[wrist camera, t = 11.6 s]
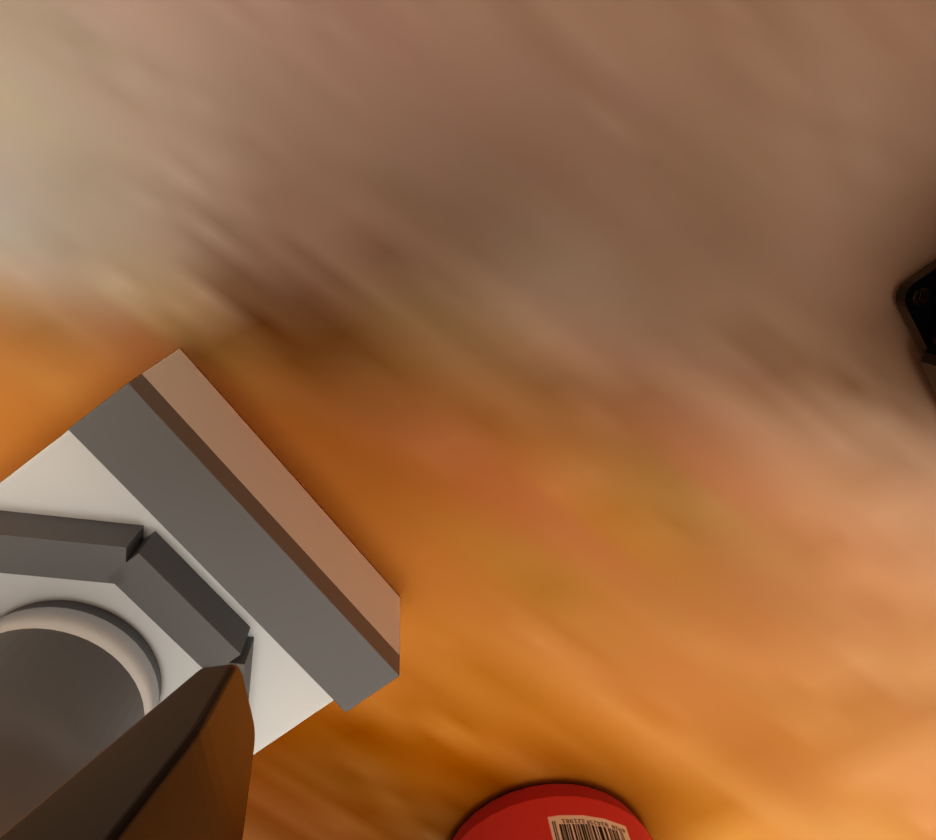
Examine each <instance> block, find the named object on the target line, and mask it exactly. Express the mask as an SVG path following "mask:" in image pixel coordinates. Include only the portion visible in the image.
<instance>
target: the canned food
mask: <svg viewBox="0 0 936 840" xmlns="http://www.w3.org/2000/svg"><path fill="white" fill-rule="evenodd" d="M452 840H652V838H651V837H650V835H649V833H648V832H647V830H646V828H645V827H644V826H643V825H642V824H641V822H640V821H639V820H638V819H637V818H636V816H635V815H634V814H633V813H632V812H631V811H630V810H629V809H628V808H627V807H626V806H625V805H624V804H623V803H622V802H620V801H619V800H617V799H615V798H614V797H612V796H610V795H609V794H607V793H605V792H602V791H599V790H596V789H593V788H591V787H586V786H580V785H574V784H544V785H537V786H530V787H527V788H523V789H520V790H517V791H513V792H510V793H508V794H506V795H504V796H501V797H499V798H497V799H495V800H493V801H491V802H490V803H488V804H487V805H485V806H484V807H482V808H481V809H479V810H478V811H477V812H475V813H474V814H473V815H472V816H471V817H470V818H469V819H468V820H467V821H466V822H465V823H464V824H463V825H462V826H461V827H460V829H459V830H458V832H457V833H456V835H455V836H454V838H453V839H452Z"/></svg>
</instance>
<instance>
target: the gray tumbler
mask: <svg viewBox="0 0 936 840" xmlns="http://www.w3.org/2000/svg"><path fill="white" fill-rule="evenodd" d="M160 695H161V674H160V669H159V666H158V662H157V660H156V658H155V655H154V653H153V651H152V650H151V648H150V646H149V645H148V643H147V642H146V641H145V639H144V638H143V637H142V636H141V635H140V634H139V633H138V632H137V631H136V630H135V629H134V628H133V627H132V626H131V625H129V624H128V623H127V622H125V621H124V620H123V619H121V618H120V617H118V616H116V615H114V614H112V613H111V612H108V611H106V610H104V609H101V608H99V607H96V606H93V605H89V604H86V603H81V602H75V601H65V600H52V601H43V602H36V603H32V604H29V605H25V606H22V607H20V608H17V609H15V610H13V611H11V612H9V613H8V614H6V615H4V616H3V617H1V618H0V836H2V835H3V834H4V833H5V832H6V831H8V830H9V829H10V828H11V827H12V826H14V825H15V824H16V823H17V822H18V821H20V820H21V819H22V818H23V817H24V816H26V815H27V814H28V813H29V812H30V811H32V810H33V809H34V808H35V807H36V806H37V805H39V804H40V803H41V802H42V801H43V800H45V799H46V798H47V797H48V796H49V795H51V794H52V793H53V792H54V791H55V790H57V789H58V788H59V787H60V786H61V785H63V784H64V783H65V782H66V781H67V780H69V779H70V778H71V777H72V776H73V775H75V774H76V773H77V772H78V771H79V770H80V769H82V768H83V767H84V766H85V765H86V764H88V763H89V762H90V761H91V760H92V759H94V758H95V757H96V756H97V755H98V754H100V753H101V752H102V751H103V750H104V749H106V748H107V747H108V746H109V745H110V744H111V743H113V742H114V741H115V740H116V739H117V738H119V737H120V736H121V735H122V734H123V733H125V732H126V731H127V730H128V729H129V728H131V727H132V726H133V725H134V724H135V723H137V722H138V721H139V720H140V719H141V718H143V717H144V716H145V715H146V714H147V713H148V712H150V711H151V710H152V709H153V708H154V707H156V706H157V705H158V704H159V700H160Z"/></svg>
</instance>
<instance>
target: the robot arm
mask: <svg viewBox="0 0 936 840" xmlns="http://www.w3.org/2000/svg"><path fill="white" fill-rule="evenodd" d="M918 289H920V291H921V296H920V298H919V300H918V301H917V302H915V303H914V300H913V297H914V294H915V292H916V291H917V290H918ZM896 302H897V305H898V307H899V309H900V311H901V313H902V315H903V317H904V319H905V321H906V323H907V325H908V327H909V329H910V331H911V333H912V335H913V337H914V339H915V340H916V342H917V344H918V346H919V348H920V350H921V354H920V364H921V366H922V368H923V370H924V372H925V374H926V376H927V378H928V380H929V382H930V384H931V386H932V388H933V390H934V392H935V393H936V260H935V261H934V262H932V263H931V264H929V265H928V266H927V267H925V268H924V269H922V270H921V271H919V272H918V273H916V274H915V275H913V276H912V277H911V278H909V279H908V280H906V281H905V282H904V283H903V284H902V285H901V286H900V287H899V289H898V291H897V295H896ZM254 743H255V728H254V721H253V717H252V712H251V708H250V704H249V700H248V695H247V691H246V687H245V683H244V678H243V675H242V672H241V670H240V668H239V667H238V666H237V665H235V664H227V665H220V666H213V667H206V668H202V669H200V670H199V671H198V672H196V673H195V674H194V675H193V676H191V677H190V678H189V679H188V680H187V681H185V682H184V683H183V684H182V685H181V686H179V687H178V688H177V689H176V690H175V691H174V692H172V693H171V694H170V695H169V696H168V697H166V698H165V699H164V700H163V701H162V702H160V703H159V704H158V705H157V706H156V707H154V708H153V709H152V710H151V711H150V712H148V713H147V714H146V715H145V716H144V717H143V718H141V719H140V720H139V721H138V722H137V723H135V724H134V725H133V726H132V727H131V728H129V729H128V730H127V731H126V732H125V733H123V734H122V735H121V736H120V737H119V738H117V739H116V740H115V741H114V742H113V743H111V744H110V745H109V746H108V747H107V748H106V749H104V750H103V751H102V752H101V753H100V754H98V755H97V756H96V757H95V758H94V759H92V760H91V761H90V762H89V763H88V764H86V765H85V766H84V767H83V768H82V769H80V770H79V771H78V772H77V773H76V774H75V775H73V776H72V777H71V778H70V779H69V780H67V781H66V782H65V783H64V784H63V785H61V786H60V787H59V788H58V789H57V790H55V791H54V792H53V793H52V794H51V795H49V796H48V797H47V798H46V799H45V800H43V801H42V802H41V803H40V804H39V805H37V806H36V807H35V808H34V809H33V810H32V811H30V812H29V813H28V814H27V815H26V816H24V817H23V818H22V819H21V820H20V821H18V822H17V823H16V824H15V825H14V826H12V827H11V828H10V829H9V830H8V831H6V832H5V833H4V834H3V835H2V836H0V840H242V838H243V830H244V822H245V815H246V807H247V799H248V791H249V783H250V775H251V768H252V760H253V752H254Z"/></svg>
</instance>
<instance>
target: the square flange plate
mask: <svg viewBox="0 0 936 840" xmlns="http://www.w3.org/2000/svg"><path fill="white" fill-rule="evenodd" d="M52 600H65V601H75V602H81V603H86V604H89V605H93V606H96V607H99V608H101V609H104V610H106V611H108V612H111V613H112V614H114V615H116V616H118V617H120V618H121V619H123V620H124V621H125V622H127V623H128V624H129V625H131V626H132V627H133V628H134V629H135V630H136V631H137V632H138V633H139V634H140V635H141V636H142V637H143V638H144V639H145V641H146V642H147V643H148V645H149V646H150V648H151V650H152V651H153V653H154V655H155V658H156V660H157V662H158V666H159V669H160V674H161V695H160V700H159V703H160V702H162V701H163V700H164V699H165V698H166V697H168V696H169V695H170V694H171V693H172V692H174V691H175V690H176V689H177V688H178V687H179V686H181V685H182V684H183V683H184V682H185V681H187V680H188V679H189V678H190V677H191V676H193V675H194V674H195V673H196V672H198V671H199V670H200V669H202V668H206V667H213V666H220V665H227V664H235V665H237V666H238V667H239V668H240V670H241V672H242V675H243V678H244V683H245V687H246V691H247V695H248V700H249V704H250V708H251V712H252V717H253V721H254V728H255V743H254V752H253V755H254V754H255V753H257V752H258V751H260V750H261V749H263V748H264V747H265V746H267V745H268V744H270V743H271V742H273V741H274V740H276V739H277V738H279V737H280V736H282V735H283V734H285V733H286V732H287V731H289V730H290V729H292V728H293V727H295V726H296V725H298V724H299V723H301V722H302V721H304V720H305V719H307V718H308V717H310V716H311V715H312V714H314V713H315V712H317V711H318V710H320V709H321V708H323V707H324V706H326V705H327V704H329V703H330V702H332V701H333V700H334V701H335V702H336V703H337V704H338V705H339V706H340V707H341V708H342V709H343V710H344V711H345V712H347V711H348V710H350V709H351V708H353V707H354V706H355V705H357V704H358V703H360V702H361V701H363V700H364V699H366V698H367V697H369V696H370V695H372V694H373V693H375V692H376V691H378V690H379V689H381V688H382V687H384V686H385V685H387V684H388V683H389V682H391V681H392V680H394V679H395V678H397V677H398V676H399V657H400V597H399V596H398V595H397V593H396V592H395V591H394V590H393V589H392V588H391V587H390V586H389V584H388V583H387V582H386V581H385V580H384V579H383V578H382V577H381V575H380V574H379V573H378V572H377V571H376V570H375V569H374V567H373V566H372V565H371V564H370V563H369V562H368V561H367V560H366V558H365V557H364V556H363V555H362V554H361V553H360V552H359V551H358V549H357V548H356V547H355V546H354V545H353V544H352V543H351V541H350V540H349V539H348V538H347V537H346V536H345V535H344V534H343V532H342V531H341V530H340V529H339V528H338V527H337V526H336V525H335V523H334V522H333V521H332V520H331V519H330V518H329V517H328V515H327V514H326V513H325V512H324V511H323V510H322V509H321V508H320V506H319V505H318V504H317V503H316V502H315V501H314V500H313V499H312V497H311V496H310V495H309V494H308V493H307V492H306V491H305V489H304V488H303V487H302V486H301V485H300V484H299V483H298V482H297V480H296V479H295V478H294V477H293V476H292V475H291V474H290V473H289V471H288V470H287V469H286V468H285V467H284V466H283V465H282V463H281V462H280V461H279V460H278V459H277V458H276V457H275V456H274V454H273V453H272V452H271V451H270V450H269V449H268V448H267V447H266V445H265V444H264V443H263V442H262V441H261V440H260V439H259V437H258V436H257V435H256V434H255V433H254V432H253V431H252V430H251V428H250V427H249V426H248V425H247V424H246V423H245V422H244V421H243V419H242V418H241V417H240V416H239V415H238V414H237V413H236V411H235V410H234V409H233V408H232V407H231V406H230V405H229V404H228V402H227V401H226V400H225V399H224V398H223V397H222V396H221V395H220V393H219V392H218V391H217V390H216V389H215V388H214V387H213V385H212V384H211V383H210V382H209V381H208V380H207V379H206V378H205V376H204V375H203V374H202V373H201V372H200V371H199V370H198V369H197V367H196V366H195V365H194V364H193V363H192V362H191V361H190V359H189V358H188V357H187V356H186V355H185V354H184V353H183V352H182V350H181V349H180V348H179V349H178V350H176V351H175V352H173V353H172V354H170V355H169V356H167V357H166V358H164V359H163V360H161V361H160V362H158V363H157V364H155V365H154V366H152V367H151V368H149V369H148V370H146V371H145V372H143V373H142V374H140V375H139V376H138V377H136V378H135V379H133V380H132V381H130V382H129V383H127V384H126V385H125V386H123V387H122V388H121V389H119V390H118V391H117V392H116V393H114V394H113V395H112V396H110V397H109V398H108V399H106V400H105V401H104V402H103V403H101V404H100V405H99V406H97V407H96V408H95V409H94V410H92V411H91V412H90V413H88V414H87V415H86V416H84V417H83V418H82V419H81V420H79V421H78V422H77V423H75V424H74V425H73V426H72V427H70V428H69V429H68V431H67V432H66V433H64V434H63V435H62V436H60V437H59V438H58V439H56V440H55V441H54V442H53V443H51V444H50V445H49V446H47V447H46V448H45V449H43V450H42V451H41V452H40V453H38V454H37V455H36V456H34V457H33V458H32V459H31V460H29V461H28V462H27V463H25V464H24V465H23V466H21V467H20V468H19V469H18V470H16V471H15V472H14V473H12V474H11V475H10V476H9V477H7V478H6V479H5V480H3V481H2V482H1V483H0V618H1V617H3V616H4V615H6V614H8V613H9V612H11V611H13V610H15V609H17V608H20V607H22V606H25V605H29V604H32V603H36V602H43V601H52Z"/></svg>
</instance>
